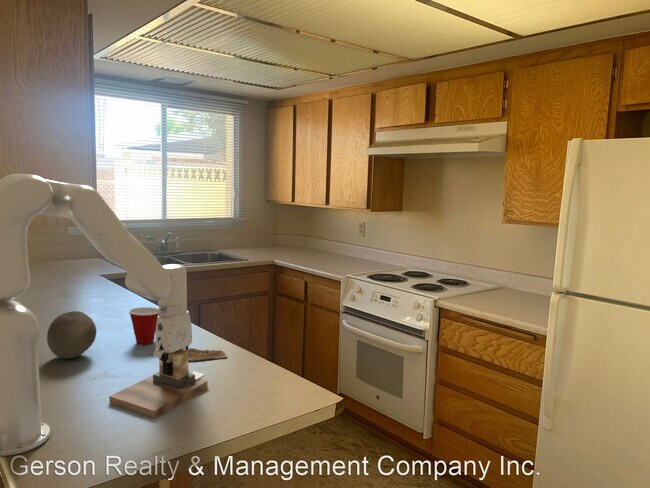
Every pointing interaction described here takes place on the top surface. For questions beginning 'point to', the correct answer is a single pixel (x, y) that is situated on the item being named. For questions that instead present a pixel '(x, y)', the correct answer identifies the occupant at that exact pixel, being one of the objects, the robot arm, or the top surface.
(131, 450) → the top surface
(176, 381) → the block
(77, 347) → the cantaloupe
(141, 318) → the plastic cup
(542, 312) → the top surface
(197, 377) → the tile
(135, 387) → the board
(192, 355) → the wooden fragment
